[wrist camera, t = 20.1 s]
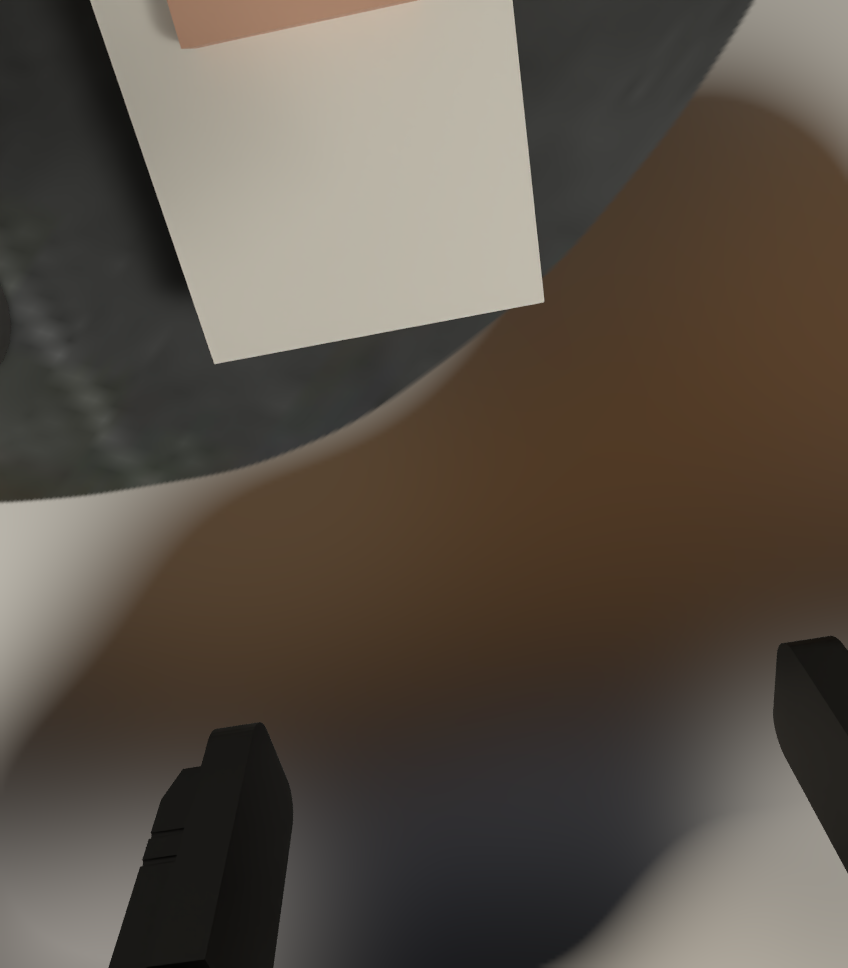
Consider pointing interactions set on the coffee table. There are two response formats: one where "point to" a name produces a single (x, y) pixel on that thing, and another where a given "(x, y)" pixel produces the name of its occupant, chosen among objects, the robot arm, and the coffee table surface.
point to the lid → (332, 161)
